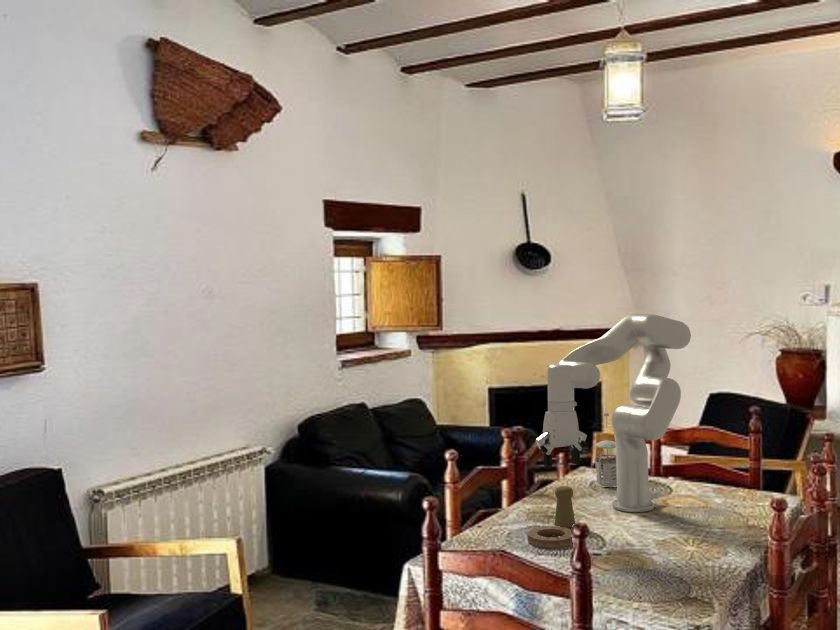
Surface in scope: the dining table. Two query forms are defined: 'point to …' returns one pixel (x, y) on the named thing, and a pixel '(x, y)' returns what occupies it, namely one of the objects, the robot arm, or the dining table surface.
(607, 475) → the french press
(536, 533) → the bead ring
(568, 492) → the cork
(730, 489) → the dining table surface
